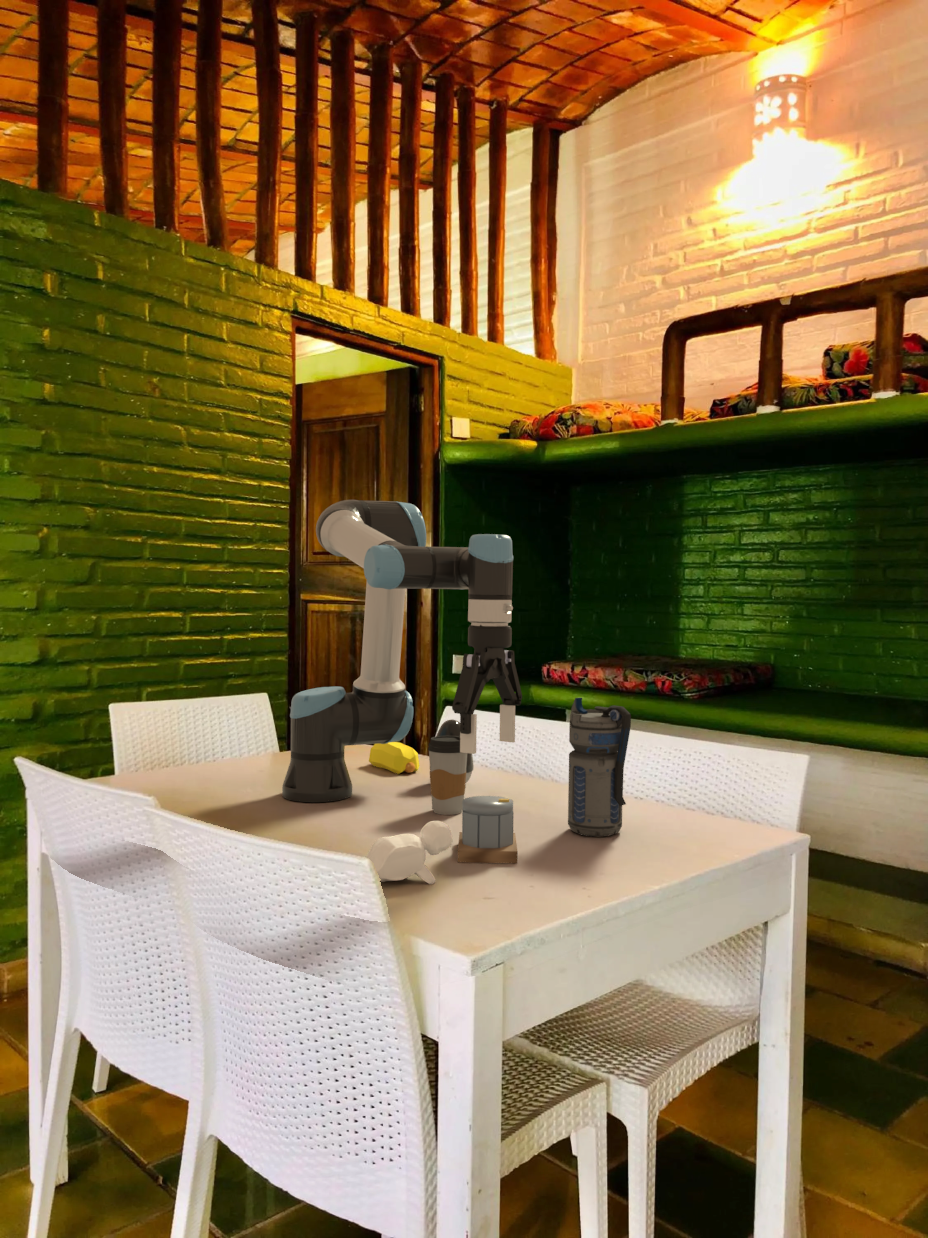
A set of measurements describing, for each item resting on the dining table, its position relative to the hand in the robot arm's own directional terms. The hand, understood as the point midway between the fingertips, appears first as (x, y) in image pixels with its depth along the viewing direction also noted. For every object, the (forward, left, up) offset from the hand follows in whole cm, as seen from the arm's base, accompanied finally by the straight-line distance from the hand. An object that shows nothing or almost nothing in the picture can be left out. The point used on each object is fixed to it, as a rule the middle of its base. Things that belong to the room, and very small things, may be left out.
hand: (488, 747), depth 167 cm
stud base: (0, 0, -18) cm, 18 cm away
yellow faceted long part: (-23, +74, -19) cm, 80 cm away
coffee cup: (-8, +30, -19) cm, 36 cm away
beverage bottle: (+21, +15, -19) cm, 32 cm away
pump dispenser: (-8, +56, -19) cm, 59 cm away
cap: (0, 0, -16) cm, 16 cm away
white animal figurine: (-13, -15, -19) cm, 27 cm away
